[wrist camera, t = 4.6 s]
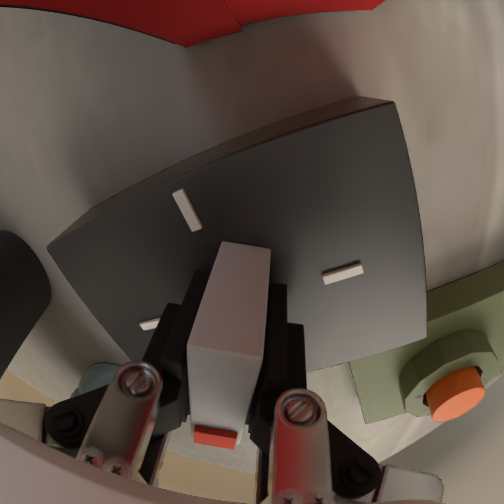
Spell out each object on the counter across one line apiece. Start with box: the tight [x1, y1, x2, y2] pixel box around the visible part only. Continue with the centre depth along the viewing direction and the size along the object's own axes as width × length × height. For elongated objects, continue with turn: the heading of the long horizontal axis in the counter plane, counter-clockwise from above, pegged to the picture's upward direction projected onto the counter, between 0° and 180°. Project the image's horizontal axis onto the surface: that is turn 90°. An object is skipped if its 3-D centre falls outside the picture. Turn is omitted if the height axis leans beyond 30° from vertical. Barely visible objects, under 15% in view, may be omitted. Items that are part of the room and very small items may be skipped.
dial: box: [187, 241, 271, 449], centre depth 9 cm, size 5×2×5 cm, turn 172°
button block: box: [349, 261, 504, 424], centre depth 15 cm, size 12×10×4 cm
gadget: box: [47, 96, 428, 372], centre depth 13 cm, size 14×10×4 cm
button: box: [426, 366, 485, 422], centre depth 13 cm, size 4×4×2 cm
